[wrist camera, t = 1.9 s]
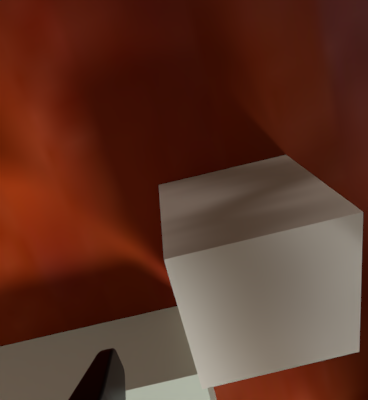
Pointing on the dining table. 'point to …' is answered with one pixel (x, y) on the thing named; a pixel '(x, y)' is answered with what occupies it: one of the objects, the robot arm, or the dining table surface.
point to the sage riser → (100, 340)
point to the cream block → (262, 268)
